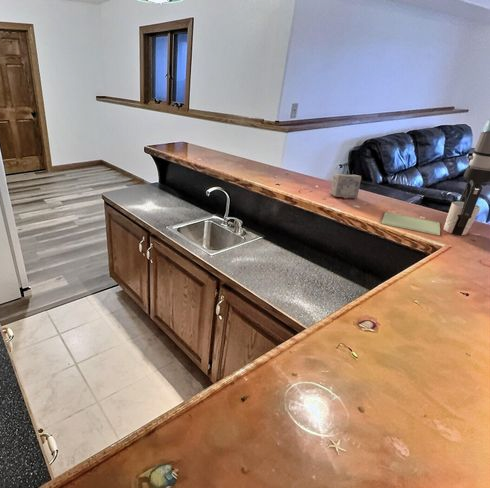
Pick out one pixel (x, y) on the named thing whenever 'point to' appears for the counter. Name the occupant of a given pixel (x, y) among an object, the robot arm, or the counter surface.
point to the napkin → (411, 223)
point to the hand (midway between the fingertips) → (455, 229)
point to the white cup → (452, 217)
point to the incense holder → (345, 185)
